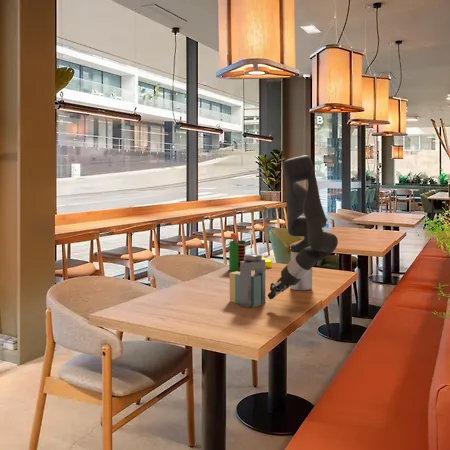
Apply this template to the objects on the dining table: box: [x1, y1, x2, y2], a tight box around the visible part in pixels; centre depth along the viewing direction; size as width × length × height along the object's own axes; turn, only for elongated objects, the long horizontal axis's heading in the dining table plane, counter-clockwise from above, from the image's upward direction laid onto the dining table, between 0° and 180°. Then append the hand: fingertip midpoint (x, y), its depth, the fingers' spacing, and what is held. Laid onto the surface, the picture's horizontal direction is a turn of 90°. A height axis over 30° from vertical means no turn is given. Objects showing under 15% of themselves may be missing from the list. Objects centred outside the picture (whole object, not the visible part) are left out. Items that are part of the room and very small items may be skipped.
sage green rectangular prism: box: [229, 271, 262, 308], centre depth 205 cm, size 13×4×12 cm, turn 47°
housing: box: [239, 253, 266, 309], centre depth 202 cm, size 7×11×20 cm, turn 137°
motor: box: [228, 233, 246, 272], centre depth 274 cm, size 10×9×20 cm
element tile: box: [262, 256, 273, 269], centre depth 286 cm, size 15×15×5 cm
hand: (269, 297), depth 197 cm, fingers closed
